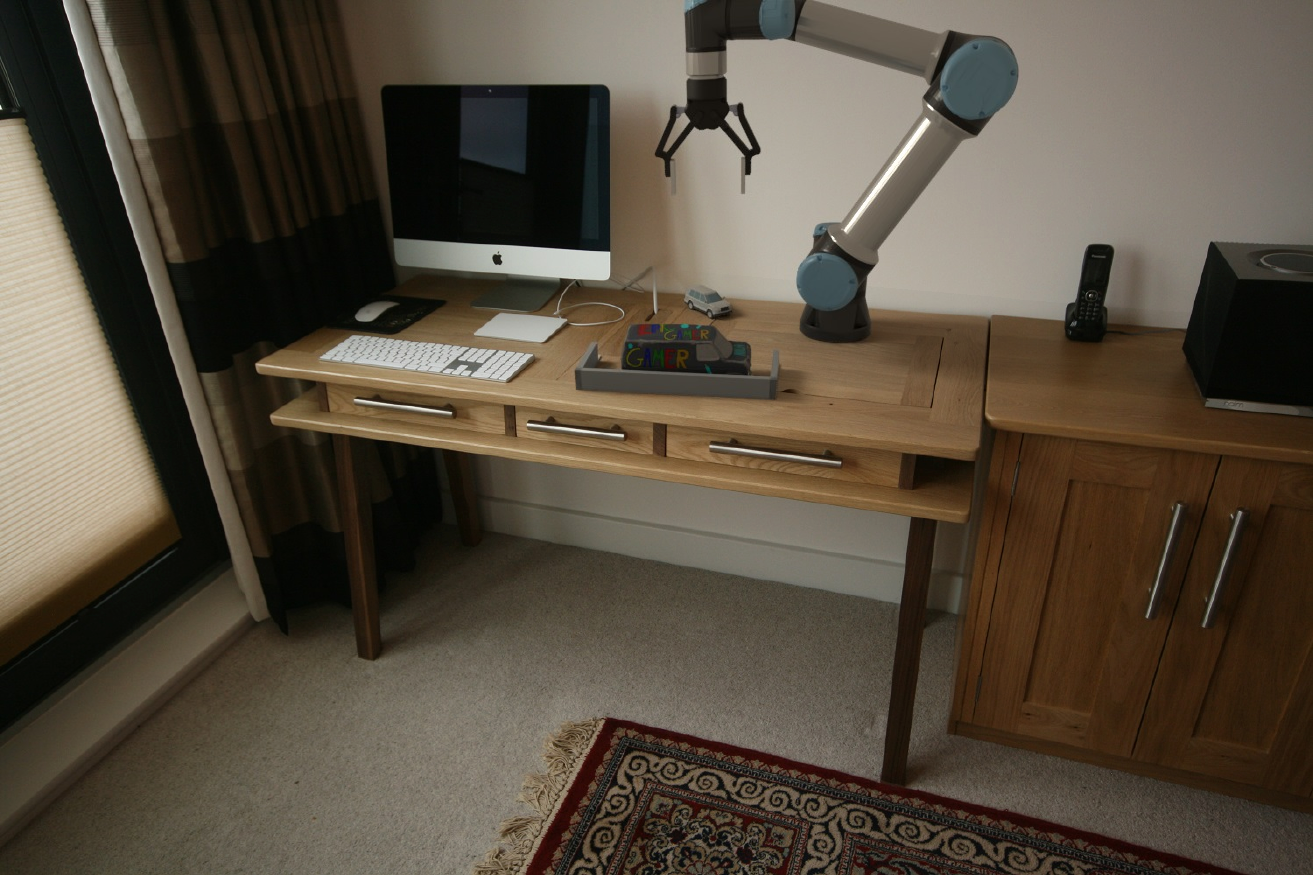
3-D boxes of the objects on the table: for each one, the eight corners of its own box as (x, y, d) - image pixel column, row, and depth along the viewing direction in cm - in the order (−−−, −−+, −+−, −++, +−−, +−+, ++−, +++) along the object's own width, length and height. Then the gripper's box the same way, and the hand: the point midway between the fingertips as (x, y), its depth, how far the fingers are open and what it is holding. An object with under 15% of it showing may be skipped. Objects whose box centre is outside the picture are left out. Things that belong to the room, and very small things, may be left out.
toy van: (751, 392, 161) (753, 342, 156) (619, 389, 163) (617, 339, 159) (751, 369, 171) (752, 321, 166) (626, 367, 173) (624, 319, 168)
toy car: (715, 322, 194) (715, 301, 192) (682, 307, 204) (682, 286, 202) (735, 317, 197) (735, 296, 195) (702, 302, 207) (702, 282, 204)
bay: (778, 364, 172) (779, 345, 170) (775, 399, 158) (776, 379, 156) (595, 355, 178) (594, 337, 176) (575, 389, 163) (574, 370, 161)
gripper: (774, 72, 162) (772, 187, 172) (642, 77, 165) (647, 190, 175) (774, 76, 156) (772, 196, 165) (637, 81, 158) (642, 198, 168)
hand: (708, 193), depth 170 cm, fingers open, 13 cm apart
